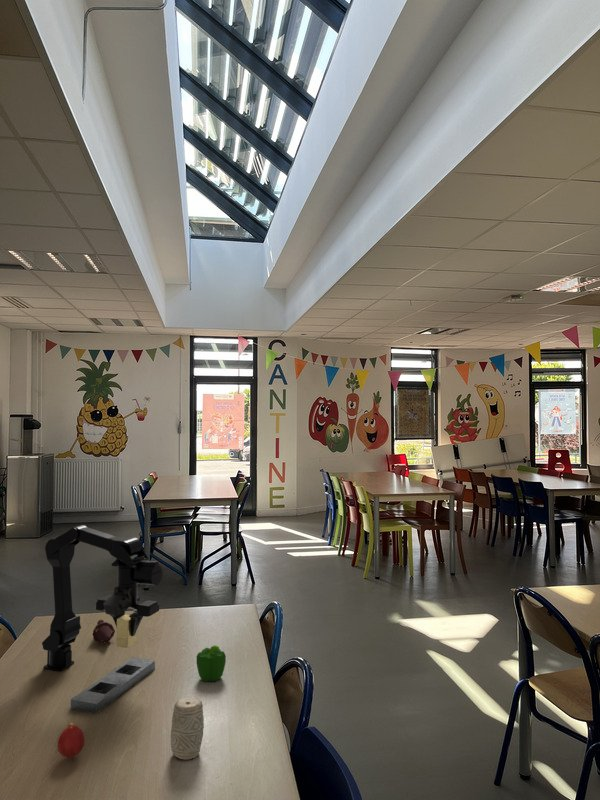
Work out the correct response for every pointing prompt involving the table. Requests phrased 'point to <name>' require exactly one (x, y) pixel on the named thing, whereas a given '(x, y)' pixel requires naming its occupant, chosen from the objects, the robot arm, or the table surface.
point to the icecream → (103, 632)
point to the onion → (71, 741)
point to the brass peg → (125, 632)
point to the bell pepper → (211, 663)
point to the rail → (112, 685)
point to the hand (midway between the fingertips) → (126, 634)
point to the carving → (187, 728)
